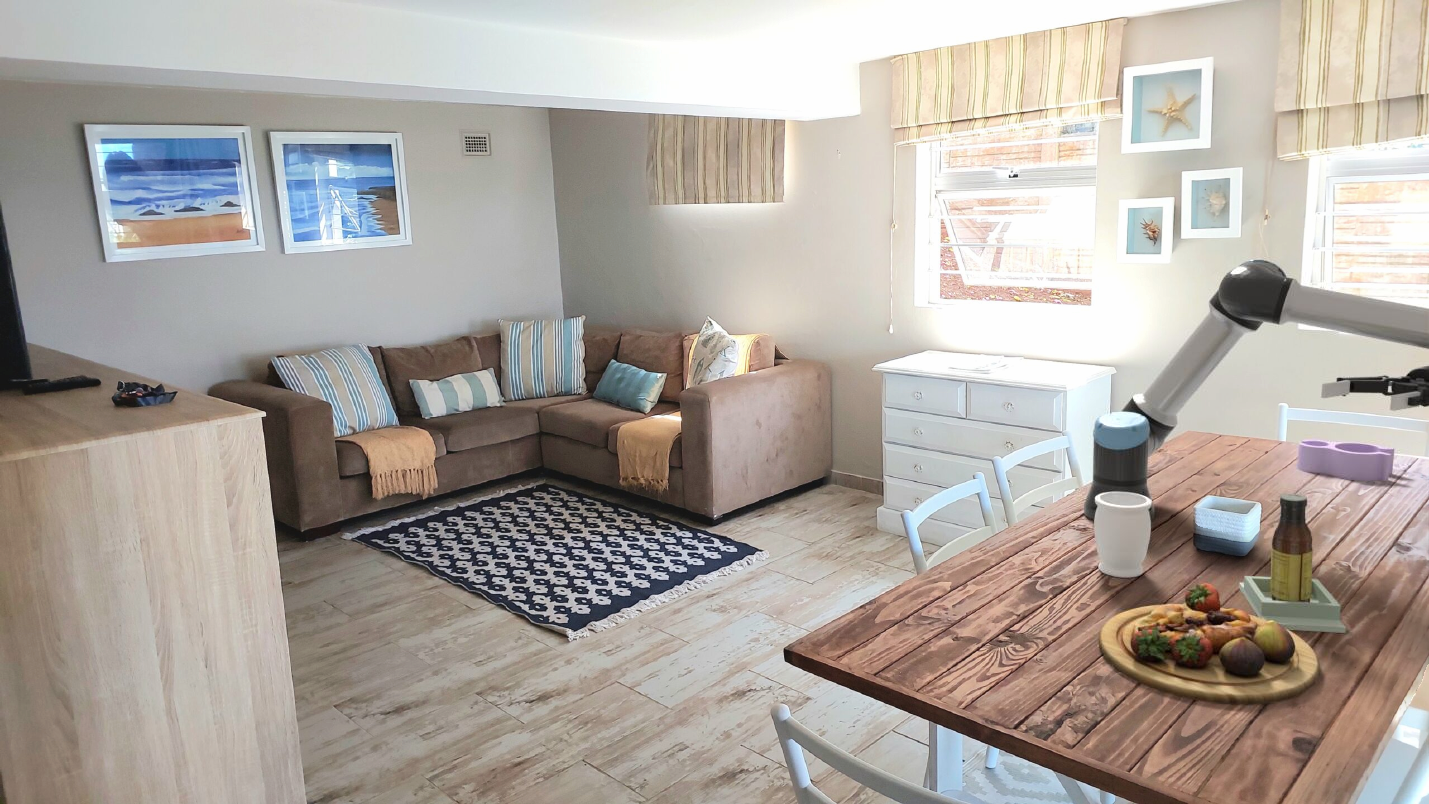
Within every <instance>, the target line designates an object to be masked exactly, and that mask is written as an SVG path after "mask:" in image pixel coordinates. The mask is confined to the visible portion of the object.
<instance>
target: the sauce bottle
mask: <svg viewBox="0 0 1429 804" xmlns="http://www.w3.org/2000/svg"><path fill="white" fill-rule="evenodd" d="M1279 498H1280V499H1279V505H1280V516H1279V522H1278V525H1277V527H1276V528H1275V530H1274V532H1273V536H1272V539H1271V556H1270V557H1271V558H1270V559H1271V562H1270V563H1271V564H1270V565H1271V567H1270V577H1271V591H1270V592H1271V594H1272V600H1273V601H1293V602H1310V597H1311V585H1312V579H1313V551H1314V550H1313V536H1312V531H1311V530H1310V528H1309V526H1308V525H1307V523H1306V520H1307V518H1306V507H1307V506H1308V498H1307V497H1306V496H1305V495H1302V494H1298V493H1297V494H1296V493H1285V494H1282V495H1280V496H1279Z"/></svg>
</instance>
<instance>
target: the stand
mask: <svg viewBox="0 0 1429 804" xmlns="http://www.w3.org/2000/svg"><path fill="white" fill-rule="evenodd" d="M1238 583H1239V584H1238V587H1239V590H1240V591H1241V592H1242V593H1243V594H1242V595H1243V596H1244V598H1245V599H1246V600H1247V602H1248V603H1249V605H1250V606H1251V608H1252V610H1253V611H1254V613H1255V614H1256V617H1259V618H1262V619H1265V620H1268V621H1271V620H1273V621H1274V622H1277V623H1278V624H1280V625H1281V626H1283V627H1284V628H1285V629H1287V630H1289V631H1302V632H1303V631H1304V632H1318V633H1319V632H1320V633H1322V632H1324V633H1336V634H1337V633H1340V634H1341V633H1342V634H1346V633H1347V632H1346V631H1347V627H1346V626H1345V625H1344V623H1343V621H1341V610H1342V609H1341V608H1342V606H1341V604H1339V602H1338V601H1337V600H1336V598H1334V596H1333V595H1332V594H1331V593H1330V592H1329V591H1328V590H1327V588H1326V587H1325V586H1324V585H1323V584H1322V582H1321V581H1320V580H1319V579H1317V578H1312V585H1311V597H1310V602H1293V601H1273V600H1272V594H1271V592H1270V591H1271V576H1257V575H1256V576H1253V575H1251V576H1250V575H1244V576H1243V582H1238Z"/></svg>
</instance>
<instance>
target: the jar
mask: <svg viewBox="0 0 1429 804" xmlns="http://www.w3.org/2000/svg"><path fill="white" fill-rule="evenodd" d="M1151 499H1152V498H1151ZM1151 499H1149V498H1148V497H1146V496H1143V495H1140V494H1135V493H1129V492H1106V493H1101V494H1099V495H1097V496H1096V497H1095V503H1096V504H1097V505H1098V507H1097V509H1096V513H1095V519H1094V520H1093V531H1094V539H1095V547H1096V552H1097V555H1098V558H1099V560H1100V562H1099V563H1098V569H1099V571H1100V572H1101V573H1103V574H1105V575H1108V576H1110V577H1115V578H1116V577H1117V578H1124V579H1125V578H1126V579H1127V578H1135V577H1139V576H1141V575H1142V574H1143V573H1144V568H1143V566H1142V564H1143V562H1144V560H1145V559H1146V556H1147V552H1148V547H1149V543H1150V540H1151V539H1150V538H1151V532H1152V531H1151V530H1152V529H1151V528H1152V526H1151V524H1152V521H1150V514H1149V511H1148V509H1149V508H1150V507H1151V505H1152V503H1151V502H1153V500H1152V501H1151Z"/></svg>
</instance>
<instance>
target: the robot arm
mask: <svg viewBox="0 0 1429 804" xmlns="http://www.w3.org/2000/svg"><path fill="white" fill-rule="evenodd" d="M1208 307H1209V312H1208V314H1206V316H1205V317H1204V318H1203V319H1202V321H1201V322H1200V324H1199V325H1198V326H1197V327H1196V328H1195V330H1194V331H1193V332H1192V333H1191V334H1190V336H1189V337H1188V338H1187V339H1186V340H1185V342H1184V343H1183V345H1182V346H1181V347H1180V348H1179V350H1177V352H1176V353H1175V354H1174V356H1173V357H1172V358H1171V360H1170V361H1169V362H1168V363H1167V365H1166V366H1165V367H1164V368H1163V370H1162V371H1161V372H1160V373H1159V374H1158V376H1157V377H1156V378H1155V380H1153V382H1152V383H1151V384H1150V386H1149V387H1147V389H1146V390H1145V392H1143V393H1136V394H1134V395H1132V397H1131V399H1130V400H1129V401H1128V402H1127V404H1126V405H1125V406H1124V408H1123V409H1121V411H1113V412H1110V413H1105V414H1102V415H1100V416H1099V417H1097V419H1096V420H1095V422H1094V425H1093V426H1094V427H1093V429H1092V430H1093V431H1092V433H1093V434H1092V436H1093V451H1092V452H1093V453H1092V454H1093V455H1092V456H1093V458H1092V460H1093V461H1092V482H1091V486H1090V488H1089V489H1088V490H1089V491H1088V493H1087V496H1086V498H1085V500H1084V501H1085V502H1084V504H1083V513H1084V515H1085V516H1086V517H1087V518H1089V519H1091V520H1092V521H1094V519H1095V513H1096V509H1097V507H1098V505H1097V504H1096V503H1095V497H1096V496H1097V495H1099V494H1101V493H1106V492H1129V493H1135V494H1140V495H1143V496H1146V497H1148V498H1149V499H1151V501H1152V502H1151V503H1152V505H1151V507H1150V508H1149V509H1148V511H1149V514H1150V521H1151V522H1152V521H1153V520H1154V519H1155V506H1154V502H1153V499H1152V495H1151V493H1150V490H1149V486H1148V472H1149V471H1148V468H1149V466H1148V465H1149V457H1150V456H1151V455H1152V454H1154V452H1156V451H1158V449H1159V448H1161V447H1162V446H1163V445H1164V442H1165V440H1166V438H1167V437H1168V436H1169V435H1170V434H1171V433H1172V432H1173V431H1174V429H1175V428H1176V426H1177V425H1178V417H1177V415H1178V413H1179V412H1180V411H1181V410H1182V409H1183V408H1184V407H1185V406H1186V404H1187V403H1188V402H1189V400H1190V399H1191V398H1192V397H1193V395H1195V393H1196V392H1197V391H1198V389H1200V387H1201V386H1202V385H1203V384H1204V383H1205V382H1206V380H1207V379H1208V378H1209V377H1210V375H1211V374H1212V373H1213V372H1214V371H1215V369H1216V368H1217V367H1218V366H1219V365H1220V363H1221V362H1222V361H1223V360H1224V359H1225V358H1226V356H1228V354H1229V353H1230V351H1231V350H1232V349H1233V348H1234V347H1235V346H1236V344H1237V343H1238V342H1239V341H1240V340H1241V338H1242V337H1243V336H1244V335H1245V334H1248V333H1254V332H1257V331H1258V329H1259V328H1260V327H1261V326H1262V324H1264V323H1268V324H1269V323H1270V324H1275V325H1279V326H1282V325H1285V324H1286V323H1290V322H1291V323H1295V324H1301V325H1306V326H1310V327H1316V328H1320V329H1326V330H1330V331H1331V330H1332V331H1336V332H1341V333H1345V334H1352V335H1356V336H1360V337H1367V338H1371V339H1377V340H1381V341H1387V342H1391V343H1397V344H1402V345H1407V346H1413V347H1417V348H1422V349H1427V350H1429V307H1428V308H1427V307H1423V306H1418V305H1417V306H1416V305H1411V304H1405V303H1402V302H1395V301H1389V300H1384V299H1383V300H1382V299H1377V298H1373V297H1367V296H1362V295H1361V296H1360V295H1356V294H1352V293H1345V292H1340V291H1335V290H1334V291H1333V290H1329V289H1325V288H1318V287H1313V286H1312V287H1311V286H1308V285H1301V284H1300V283H1299V281H1298V280H1297V279H1296V278H1294V277H1293V278H1291V277H1287V275H1286V273H1285V271H1284V270H1283V269H1282V268H1281V267H1280V266H1279V265H1278V264H1276V263H1275V262H1272V261H1269V260H1264V259H1250V260H1247V261H1245V262H1243V263H1241V264H1239V265H1238V266H1236V267H1235V268H1233V269H1230V271H1229V272H1227V273H1226V274H1225V275H1224V277H1223V278H1222V279H1221V282H1220V284H1219V286H1218V290H1217V291H1216V292H1215V293H1214V295H1213V296H1212V297H1211V298H1210V300H1209V301H1208ZM1389 387H1390V388H1391V389H1390V391H1389ZM1350 393H1351V394H1352V393H1354V394H1382V395H1383V396H1385V397H1386V396H1388V397H1390V404H1389V410H1390V411H1394V412H1395V411H1401V410H1405V409H1411V408H1418V407H1424V408H1426V407H1429V365H1426V366H1419V367H1415V368H1413V369H1411V370H1410V371H1409V372H1407V374H1406V375H1405V376H1404V375H1403V376H1399V377H1390V376H1388V375H1379V376H1357V377H1355V376H1354V377H1340V376H1339V377H1337V378H1336V381H1333V382H1332V381H1331V382H1327V383H1322V384H1321V398H1322V399H1323V398H1324V399H1326V398H1327V399H1328V398H1334V397H1340V396H1342V397H1346V396H1347V395H1350Z"/></svg>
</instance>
